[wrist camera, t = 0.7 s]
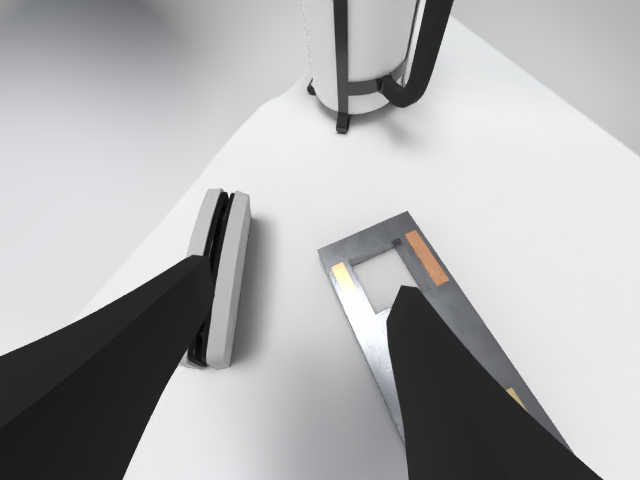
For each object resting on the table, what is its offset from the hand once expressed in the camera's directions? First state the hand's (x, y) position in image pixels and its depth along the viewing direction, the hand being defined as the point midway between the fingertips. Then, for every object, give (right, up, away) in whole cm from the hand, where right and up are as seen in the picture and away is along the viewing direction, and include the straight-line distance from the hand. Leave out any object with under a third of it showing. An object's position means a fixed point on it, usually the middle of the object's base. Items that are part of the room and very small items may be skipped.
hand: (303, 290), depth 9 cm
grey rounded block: (-9, -3, +18) cm, 20 cm away
